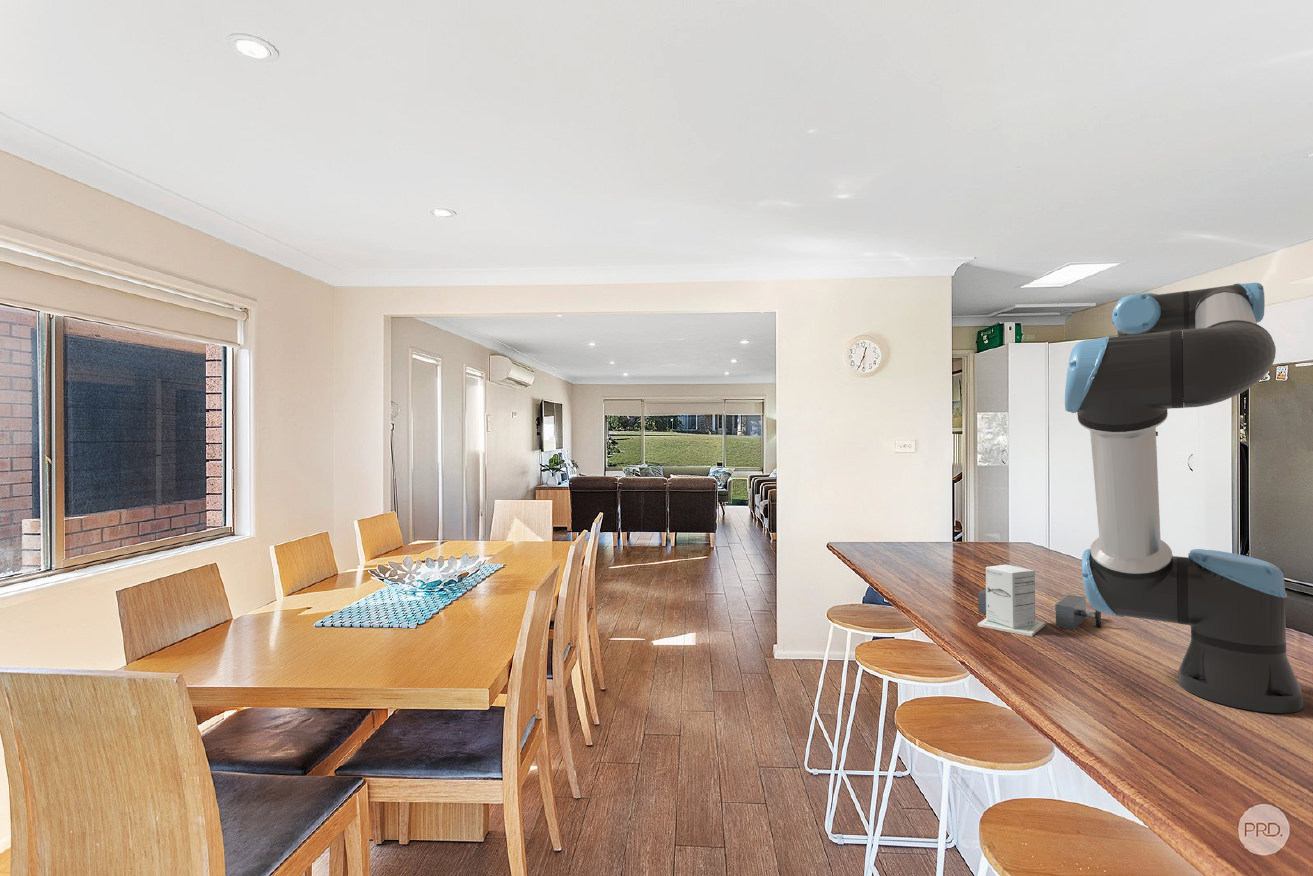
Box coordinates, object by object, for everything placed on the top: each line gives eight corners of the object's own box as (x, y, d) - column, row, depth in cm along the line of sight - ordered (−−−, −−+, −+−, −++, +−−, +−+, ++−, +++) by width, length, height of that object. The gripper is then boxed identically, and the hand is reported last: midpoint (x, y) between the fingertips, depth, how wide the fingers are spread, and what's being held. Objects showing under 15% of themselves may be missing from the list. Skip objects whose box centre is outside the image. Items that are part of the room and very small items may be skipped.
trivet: (1031, 636, 134) (1031, 633, 134) (977, 626, 142) (977, 623, 142) (1045, 625, 141) (1045, 622, 141) (993, 616, 149) (993, 613, 149)
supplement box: (984, 620, 144) (983, 566, 144) (1008, 616, 146) (1007, 563, 146) (1013, 629, 137) (1012, 572, 137) (1037, 625, 139) (1036, 569, 139)
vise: (1095, 633, 135) (1095, 610, 135) (978, 612, 152) (978, 592, 152) (1106, 621, 143) (1105, 600, 143) (994, 603, 161) (993, 584, 161)
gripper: (1155, 361, 120) (1157, 470, 120) (1169, 370, 137) (1171, 465, 137) (1107, 365, 125) (1109, 469, 125) (1127, 373, 143) (1129, 464, 143)
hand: (1141, 467), depth 131 cm, fingers open, 13 cm apart
